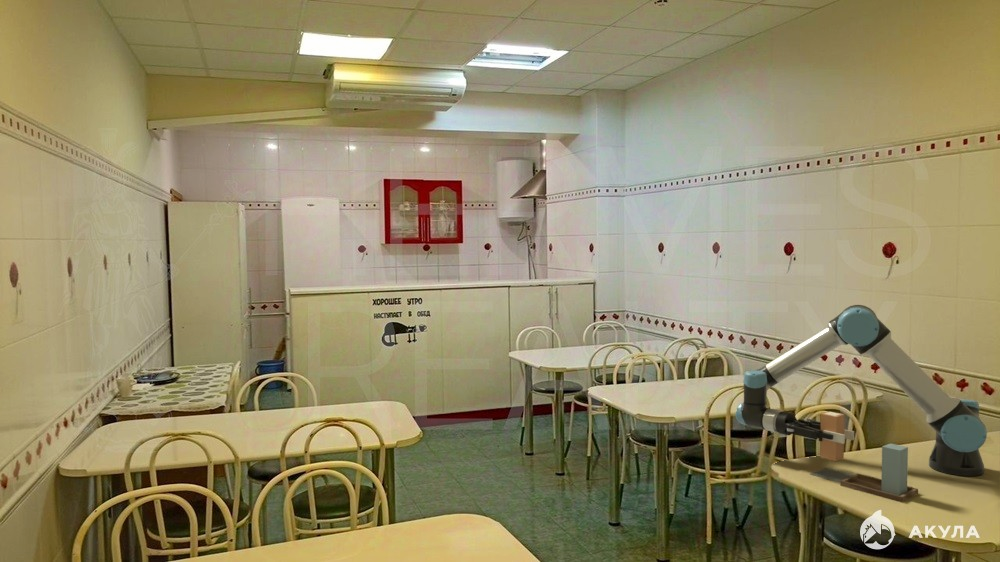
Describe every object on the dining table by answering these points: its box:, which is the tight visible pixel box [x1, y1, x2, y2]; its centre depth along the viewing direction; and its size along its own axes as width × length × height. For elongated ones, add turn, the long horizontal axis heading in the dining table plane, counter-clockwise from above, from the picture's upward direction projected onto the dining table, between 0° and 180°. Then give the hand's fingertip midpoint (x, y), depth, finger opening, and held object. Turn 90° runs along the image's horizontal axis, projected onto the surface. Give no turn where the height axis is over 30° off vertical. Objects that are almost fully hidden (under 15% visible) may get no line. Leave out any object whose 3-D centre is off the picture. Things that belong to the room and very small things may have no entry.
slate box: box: [881, 443, 909, 496], centre depth 206 cm, size 5×5×14 cm
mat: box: [809, 467, 854, 484], centre depth 223 cm, size 10×10×1 cm
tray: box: [839, 473, 919, 503], centre depth 210 cm, size 11×18×2 cm, turn 37°
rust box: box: [819, 410, 846, 462], centre depth 223 cm, size 5×5×14 cm
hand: (848, 437), depth 218 cm, fingers closed on rust box, 5 cm apart
